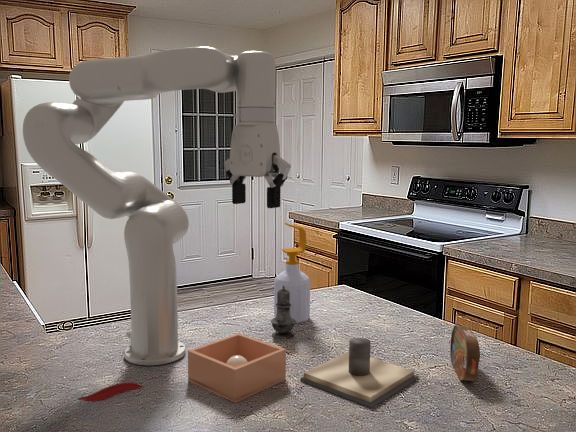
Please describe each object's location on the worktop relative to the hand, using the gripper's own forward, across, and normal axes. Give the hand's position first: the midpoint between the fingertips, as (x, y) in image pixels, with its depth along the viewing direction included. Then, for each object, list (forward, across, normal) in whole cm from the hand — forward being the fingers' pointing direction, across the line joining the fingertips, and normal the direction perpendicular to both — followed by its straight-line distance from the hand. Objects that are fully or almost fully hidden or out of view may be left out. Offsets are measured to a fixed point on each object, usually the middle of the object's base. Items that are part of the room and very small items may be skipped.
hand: (255, 205), depth 111 cm
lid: (+32, +21, +7) cm, 39 cm away
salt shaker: (+32, -6, +15) cm, 36 cm away
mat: (+32, +21, +7) cm, 39 cm away
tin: (+33, +34, +24) cm, 53 cm away
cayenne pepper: (+33, -8, -28) cm, 44 cm away
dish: (+32, +4, -9) cm, 34 cm away
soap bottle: (+32, -13, +26) cm, 44 cm away
